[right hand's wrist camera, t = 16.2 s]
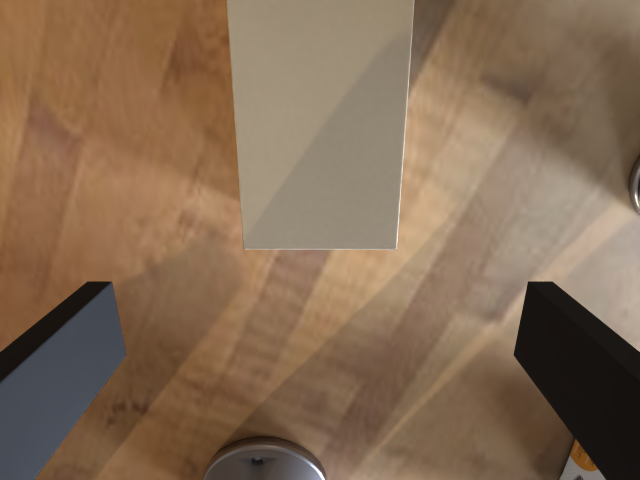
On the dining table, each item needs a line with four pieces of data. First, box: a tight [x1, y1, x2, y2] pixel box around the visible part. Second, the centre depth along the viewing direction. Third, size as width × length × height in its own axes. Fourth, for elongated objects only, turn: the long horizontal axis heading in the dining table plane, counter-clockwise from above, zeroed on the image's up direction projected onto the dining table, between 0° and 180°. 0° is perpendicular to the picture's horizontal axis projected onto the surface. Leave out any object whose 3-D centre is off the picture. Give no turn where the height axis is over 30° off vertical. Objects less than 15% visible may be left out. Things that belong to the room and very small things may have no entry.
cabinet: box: [226, 0, 415, 250], centre depth 30 cm, size 19×11×10 cm, turn 0°
